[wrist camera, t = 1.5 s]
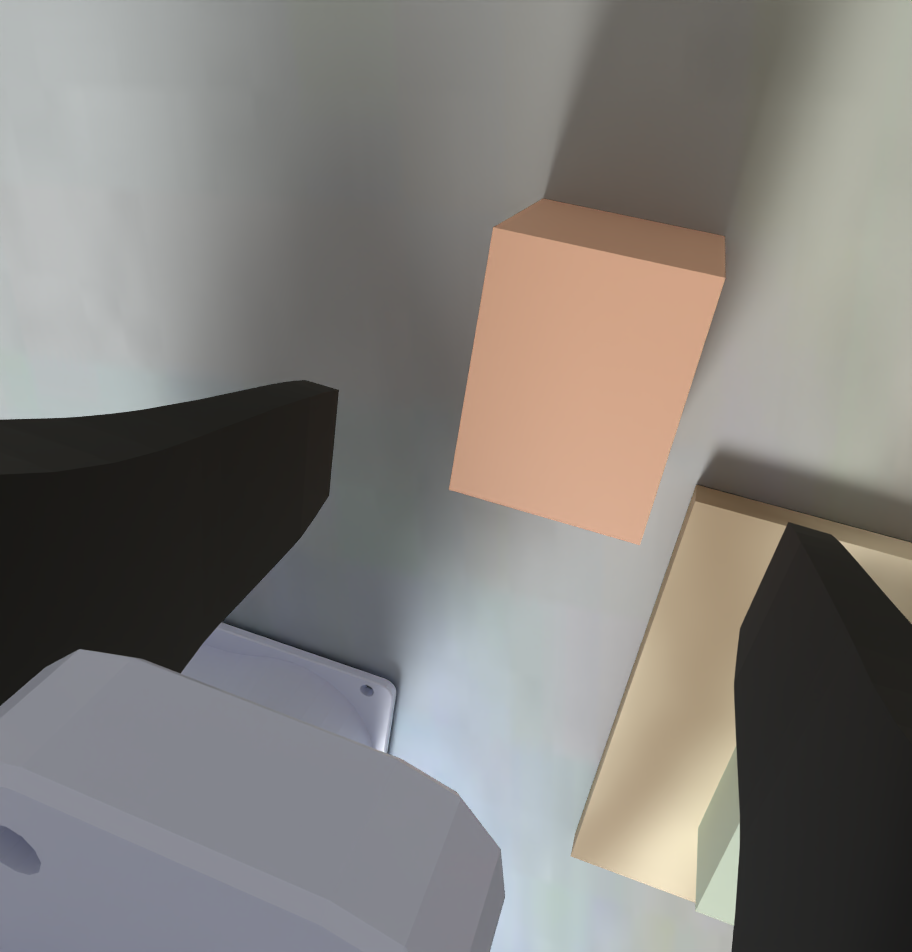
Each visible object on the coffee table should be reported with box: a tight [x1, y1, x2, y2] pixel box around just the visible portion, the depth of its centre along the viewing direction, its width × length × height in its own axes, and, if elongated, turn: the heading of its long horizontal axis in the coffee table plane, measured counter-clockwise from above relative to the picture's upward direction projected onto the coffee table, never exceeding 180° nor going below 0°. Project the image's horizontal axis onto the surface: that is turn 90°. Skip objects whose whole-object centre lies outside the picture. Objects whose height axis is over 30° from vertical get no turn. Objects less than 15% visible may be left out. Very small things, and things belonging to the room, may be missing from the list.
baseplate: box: [571, 485, 912, 903], centre depth 23 cm, size 15×15×1 cm
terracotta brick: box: [449, 199, 725, 545], centre depth 18 cm, size 4×6×5 cm
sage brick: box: [695, 747, 740, 925], centre depth 21 cm, size 8×8×3 cm
